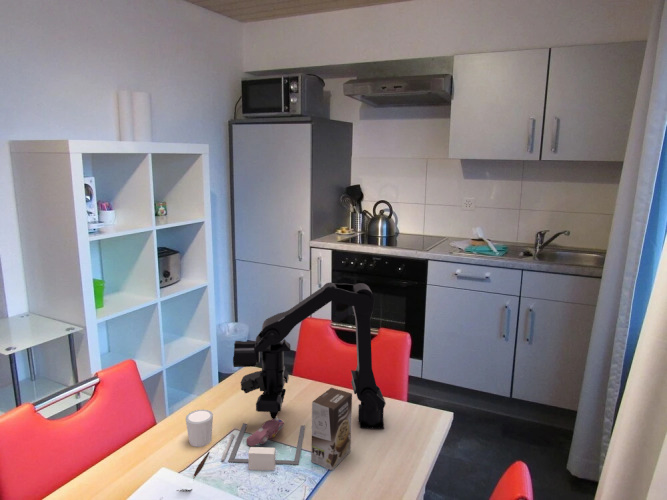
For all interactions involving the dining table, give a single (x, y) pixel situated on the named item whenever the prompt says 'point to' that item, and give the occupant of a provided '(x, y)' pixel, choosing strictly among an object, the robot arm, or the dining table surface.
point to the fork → (199, 468)
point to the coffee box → (331, 428)
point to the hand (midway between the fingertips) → (273, 418)
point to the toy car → (265, 432)
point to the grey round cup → (199, 427)
